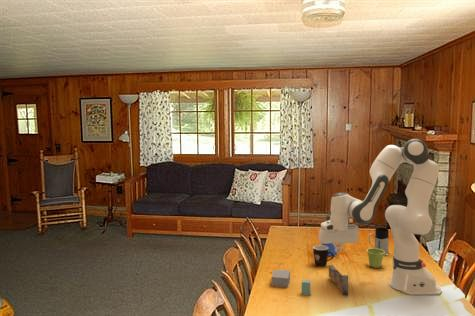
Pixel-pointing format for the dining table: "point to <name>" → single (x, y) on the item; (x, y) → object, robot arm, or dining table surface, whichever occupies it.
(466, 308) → the dining table surface
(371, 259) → the plant pot
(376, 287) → the dining table surface
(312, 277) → the dining table surface
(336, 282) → the gate
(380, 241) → the lidded pitcher
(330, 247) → the water bottle
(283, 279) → the rubber block
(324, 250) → the coffee mug
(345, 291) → the hinge post
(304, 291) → the grey-green rectangular block
